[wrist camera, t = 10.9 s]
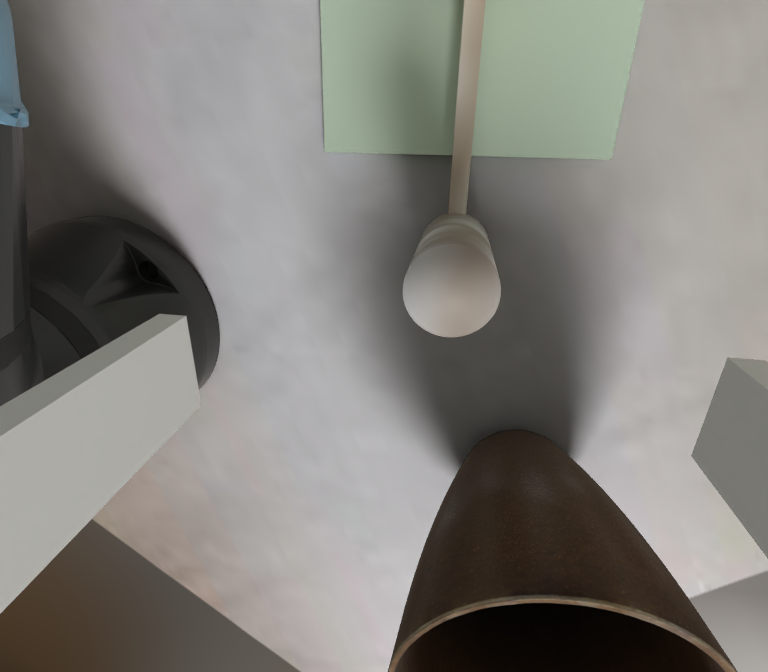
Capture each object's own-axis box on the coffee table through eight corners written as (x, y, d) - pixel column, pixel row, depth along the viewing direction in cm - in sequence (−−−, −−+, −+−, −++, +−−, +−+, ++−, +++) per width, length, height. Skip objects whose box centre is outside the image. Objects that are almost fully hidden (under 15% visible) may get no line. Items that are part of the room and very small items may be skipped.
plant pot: (641, 528, 34) (775, 815, 19) (453, 557, 38) (448, 811, 24) (596, 359, 29) (729, 572, 15) (388, 414, 34) (332, 621, 19)
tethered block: (410, 276, 28) (389, 332, 20) (430, -149, 20) (408, -352, 12) (493, 281, 27) (506, 342, 19) (546, -157, 19) (610, -378, 11)
